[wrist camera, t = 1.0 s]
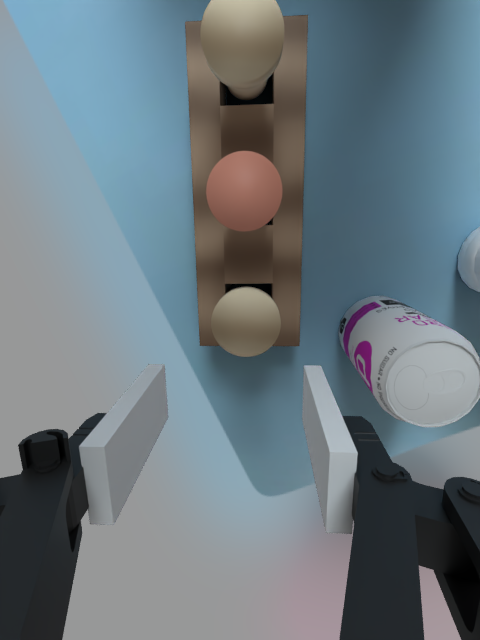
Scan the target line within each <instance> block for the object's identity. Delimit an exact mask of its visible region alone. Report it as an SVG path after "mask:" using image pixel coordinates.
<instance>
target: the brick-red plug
mask: <svg viewBox="0 0 480 640" xmlns="http://www.w3.org/2000/svg"><path fill="white" fill-rule="evenodd" d="M206 196H207V202H208V205H209V208H210V210H211V212H212V214H213V215H214V217H215V218H216V219H217V220H218V221H219V222H220V223H221V224H223V225H224V226H226V227H228V228H230V229H232V230H236V231H244V232H245V231H252V230H256V229H259V228H261V227H263V226H264V225H266V224H267V223H268V222H269V221H270V220H271V219H272V218H273V217H274V216H275V214H276V212H277V211H278V209H279V206H280V203H281V200H282V182H281V178H280V175H279V173H278V171H277V169H276V168H275V166H274V165H273V164H272V163H271V162H270V161H269V160H268V159H267V158H266V157H264V156H262V155H260V154H258V153H255V152H251V151H238V152H234V153H231V154H229V155H227V156H225V157H224V158H222V159H221V160H220V161H219V162H218V163H217V164H216V165H215V166H214V168H213V169H212V171H211V173H210V175H209V178H208V181H207V187H206Z"/></svg>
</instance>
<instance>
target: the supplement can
mask: <svg viewBox="0 0 480 640" xmlns="http://www.w3.org/2000/svg"><path fill="white" fill-rule="evenodd" d="M338 334H339V340H340V345H341V347H342V348H343V350H344V351H345V353H346V355H347V356H348V358H349V359H350V361H351V362H352V364H353V365H354V367H355V368H356V370H357V371H358V373H359V374H360V376H361V377H362V379H363V380H364V382H365V383H366V385H367V386H368V388H369V389H370V391H371V392H372V394H373V395H374V397H375V398H376V400H377V401H378V403H379V404H380V406H381V407H382V409H383V410H385V411H386V412H387V413H389V414H390V415H392V416H393V417H394V418H396V419H398V420H401V421H405V422H408V423H411V424H414V425H417V426H421V427H441V426H444V425H447V424H450V423H453V422H456V421H457V420H459V419H460V418H462V417H463V416H464V415H466V414H467V413H469V412H470V411H471V409H472V408H473V407H474V405H475V404H476V403H477V401H478V400H479V399H480V360H479V356H478V355H477V353H476V351H475V349H474V347H473V346H472V344H471V342H469V341H468V340H467V339H466V338H464V337H463V336H462V335H460V334H459V333H458V332H457V331H455V330H453V329H451V328H449V327H447V326H445V325H443V324H441V323H440V322H438V321H436V320H434V319H432V318H430V317H428V316H426V315H424V314H423V313H421V312H419V311H417V310H415V309H413V308H411V307H409V306H407V305H405V304H404V303H402V302H400V301H398V300H396V299H393V298H390V297H386V296H370V297H367V298H365V299H362V300H360V301H357V302H356V303H355V304H354V305H352V306H351V307H350V308H349V309H348V310H347V311H346V313H345V314H344V316H343V318H342V320H341V321H340V327H339V332H338Z"/></svg>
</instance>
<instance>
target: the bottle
mask: <svg viewBox="0 0 480 640" xmlns="http://www.w3.org/2000/svg"><path fill="white" fill-rule="evenodd" d="M458 270H459V273H460V276H461V279H462V280H463V281H464V282H465V283H466V285H467V286H468V287H469V288H471V289H473V290H475V291H477V292H480V227H479V228H477V229H476V230H474V231H473V232H472V233H471V234H470V235H469V236H468V237H467V239H466V240H465V241H464V242H463V244H462V247H461V249H460V252H459V254H458Z"/></svg>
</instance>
